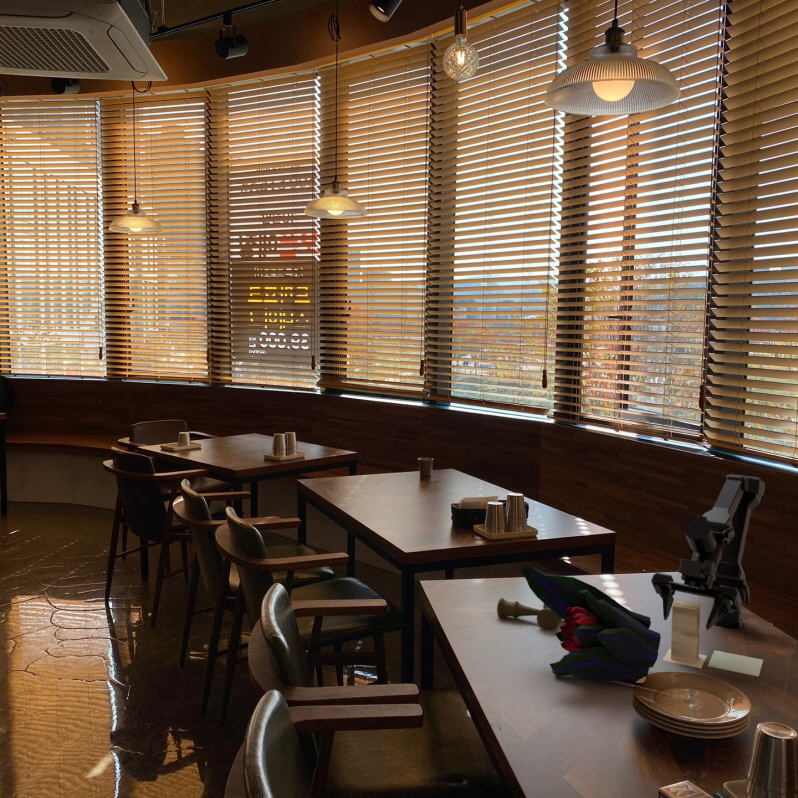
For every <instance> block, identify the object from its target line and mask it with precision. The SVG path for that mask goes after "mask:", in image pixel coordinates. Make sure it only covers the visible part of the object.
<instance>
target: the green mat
mask: <svg viewBox="0 0 798 798" xmlns="http://www.w3.org/2000/svg"><path fill="white" fill-rule="evenodd" d="M763 663H764V659H763V658H756V657H752V656H746V655H742V654H741V655H740V654H736V653H732V652H725V651H720V650H714V651H713V653H712V655H711V657H710V660H709V662H708V663H707V667H710V668H715V669H719V670H720V669H721V670H725V671H728V672H729V671H730V672H735V673H738V674H745V675H750V676H753V677H759V676H760V673H761V670H762V666H763Z"/></svg>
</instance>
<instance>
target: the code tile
mask: <svg viewBox="0 0 798 798" xmlns="http://www.w3.org/2000/svg"><path fill="white" fill-rule="evenodd" d="M707 657H708V655H705V654H700V653H699V657H698V659H697V661H696V663H695V664H691V663H687V662H682V661H677V660H672V659H671V647H670V648H668V650H667V652H666V653H665V655H664V657H663V659H662V661H664V662H669V663H673V664H678V665H682V666H689V667H692V668H693V667H694V668H698V669H702V667H703V666H704V663H705V661H706V659H707Z"/></svg>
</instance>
